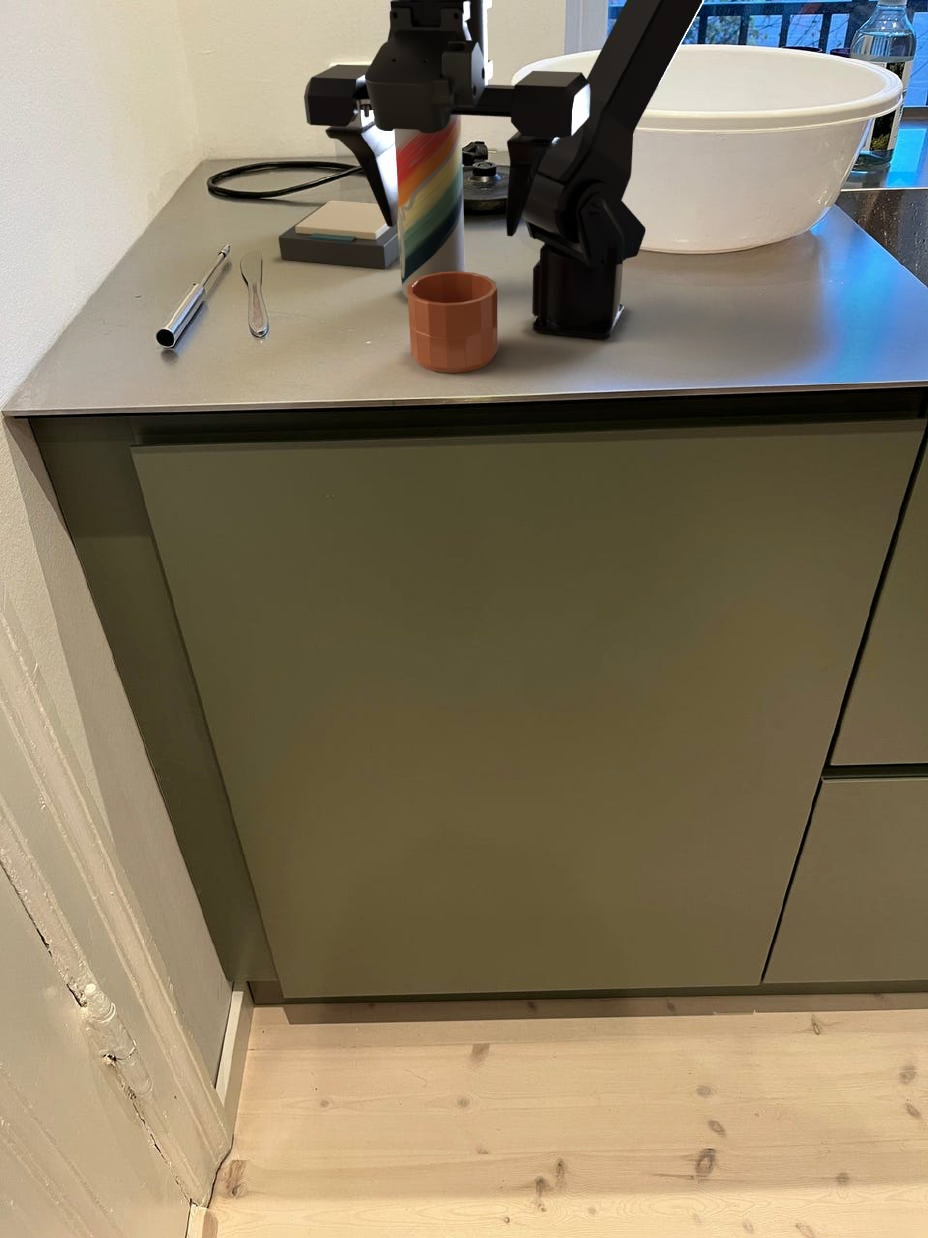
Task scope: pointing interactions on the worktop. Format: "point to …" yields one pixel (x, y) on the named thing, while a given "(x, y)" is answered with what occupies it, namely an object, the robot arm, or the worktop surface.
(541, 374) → the worktop surface
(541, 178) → the robot arm
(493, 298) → the plant pot
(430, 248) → the lotion bottle
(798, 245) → the worktop surface
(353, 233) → the scale
